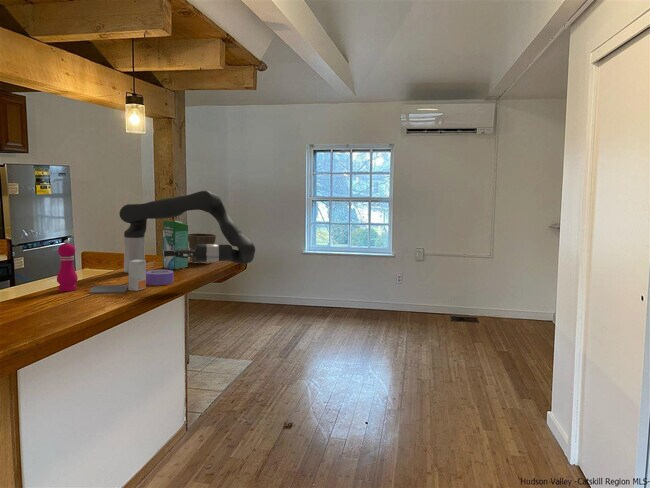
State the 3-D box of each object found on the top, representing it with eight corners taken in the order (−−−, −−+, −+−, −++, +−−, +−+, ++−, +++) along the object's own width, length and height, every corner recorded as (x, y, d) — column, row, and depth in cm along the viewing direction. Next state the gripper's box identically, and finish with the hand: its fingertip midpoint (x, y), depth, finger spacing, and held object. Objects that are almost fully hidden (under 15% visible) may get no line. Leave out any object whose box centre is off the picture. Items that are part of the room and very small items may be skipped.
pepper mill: (82, 289, 188) (81, 239, 186) (66, 292, 181) (65, 241, 179) (68, 287, 190) (67, 238, 188) (52, 290, 183) (51, 239, 181)
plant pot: (222, 262, 270) (222, 235, 268) (201, 266, 256) (201, 236, 255) (202, 259, 279) (202, 232, 277) (180, 262, 265) (180, 234, 263)
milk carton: (188, 267, 249) (188, 220, 246) (174, 269, 241) (174, 221, 238) (176, 265, 253) (176, 219, 251) (162, 267, 246) (162, 220, 243)
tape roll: (142, 285, 201) (142, 273, 200) (148, 280, 212) (148, 269, 212) (171, 285, 203) (171, 274, 202) (175, 280, 214) (175, 269, 214)
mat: (94, 287, 193) (94, 285, 192) (128, 286, 196) (128, 285, 196) (88, 293, 181) (88, 291, 181) (125, 292, 185) (125, 291, 185)
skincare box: (137, 291, 188) (137, 261, 187) (128, 290, 189) (128, 261, 188) (146, 288, 194) (146, 259, 193) (137, 287, 195) (137, 259, 194)
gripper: (206, 242, 204) (164, 242, 199) (208, 245, 191) (163, 246, 186) (206, 259, 205) (164, 260, 200) (208, 264, 192) (163, 264, 187)
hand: (164, 253), depth 193 cm, fingers closed
